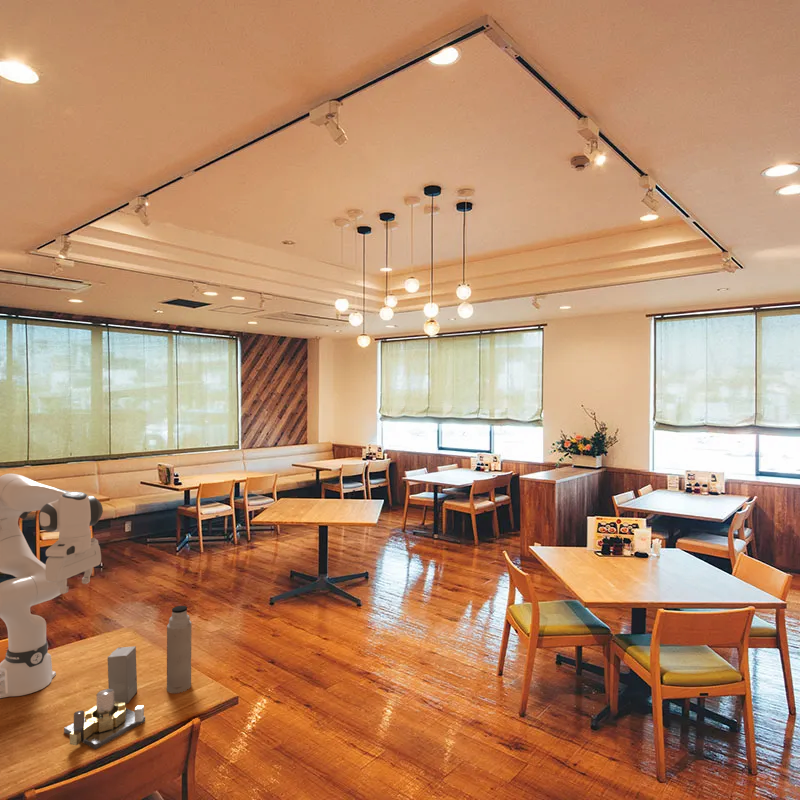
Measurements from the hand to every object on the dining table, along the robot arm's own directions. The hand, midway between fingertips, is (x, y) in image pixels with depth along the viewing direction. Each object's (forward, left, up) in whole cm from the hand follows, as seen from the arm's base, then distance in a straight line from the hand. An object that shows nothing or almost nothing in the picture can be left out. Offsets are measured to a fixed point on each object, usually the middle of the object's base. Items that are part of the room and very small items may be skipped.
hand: (75, 587), depth 174 cm
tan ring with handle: (+13, -1, -40) cm, 42 cm away
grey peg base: (+12, +2, -41) cm, 43 cm away
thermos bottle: (+12, +29, -42) cm, 52 cm away
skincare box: (+1, +15, -42) cm, 44 cm away
